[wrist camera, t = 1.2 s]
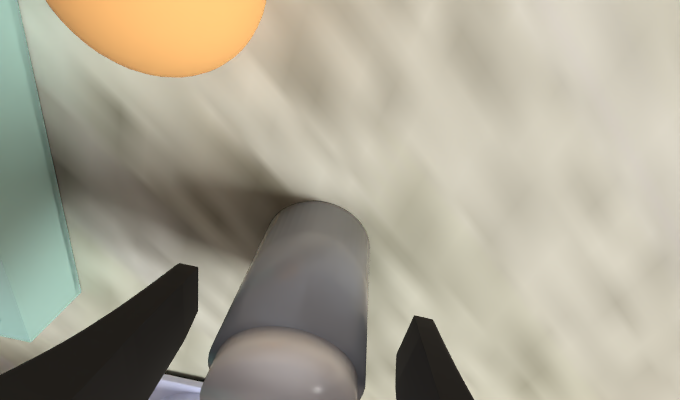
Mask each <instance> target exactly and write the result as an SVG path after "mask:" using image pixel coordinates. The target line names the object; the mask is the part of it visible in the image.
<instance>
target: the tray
mask: <svg viewBox="0 0 680 400" xmlns="http://www.w3.org/2000/svg"><path fill="white" fill-rule="evenodd" d="M80 293H81V289H80V284H79V279H78V275H77V270H76V266H75V261H74V257H73V252H72V247H71V243H70V238H69V234H68V229H67V225H66V220H65V216H64V211H63V206H62V202H61V197H60V193H59V188H58V184H57V179H56V174H55V170H54V165H53V161H52V156H51V152H50V147H49V143H48V138H47V133H46V129H45V124H44V120H43V115H42V111H41V106H40V101H39V97H38V92H37V88H36V83H35V79H34V74H33V70H32V65H31V60H30V56H29V51H28V47H27V42H26V38H25V33H24V28H23V24H22V19H21V15H20V10H19V6H18V1H17V0H0V336H3V337H8V338H12V339H17V340H22V341H26V342H32V341H33V340H34V339H35V338H36V337H37V336H38V335H39V334H40V333H41V332H42V331H43V330H44V329H45V328H46V327H47V326H48V325H49V324H50V323H51V322H52V321H53V320H54V319H55V318H56V317H57V316H58V315H59V314H60V313H61V312H62V311H63V310H64V309H65V308H66V307H67V306H68V305H69V304H70V303H71V302H72V301H73V300H74V299H75V298H76V297H77V296H78V295H79V294H80Z"/></svg>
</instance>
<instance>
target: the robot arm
mask: <svg viewBox="0 0 680 400" xmlns="http://www.w3.org/2000/svg"><path fill="white" fill-rule="evenodd" d="M197 312H198V267H195V266H190V265H186V264H181V263H179V264H177V265H176V266H174V267H173V268H172V269H170V270H169V271H168V272H166V273H165V274H164V275H162V276H161V277H160V278H158V279H157V280H156V281H154V282H153V283H152V284H150V285H149V286H148V287H146V288H145V289H144V290H142V291H141V292H139V293H138V294H137V295H135V296H134V297H132V298H131V299H130V300H128V301H127V302H125V303H124V304H122V305H121V306H120V307H118V308H117V309H115V310H114V311H112V312H111V313H109V314H108V315H106V316H104V317H103V318H101V319H100V320H98V321H97V322H95V323H94V324H92V325H90V326H89V327H87V328H86V329H84V330H83V331H81V332H79V333H78V334H76V335H74V336H73V337H71V338H69V339H67V340H66V341H64V342H62V343H60V344H59V345H57V346H55V347H53V348H52V349H50V350H48V351H46V352H44V353H42V354H41V355H39V356H37V357H35V358H33V359H31V360H29V361H27V362H25V363H23V364H21V365H19V366H17V367H16V368H14V369H12V370H10V371H8V372H6V373H4V374H1V375H0V400H200V390H201V387H202V385H203V383H204V382H200V381H195V380H190V379H186V378H181V377H176V376H172V375H167V374H164V373H165V372H166V370H167V368H168V367H169V365H170V363H171V362H172V360H173V358H174V357H175V355H176V353H177V352H178V350H179V348H180V347H181V345H182V343H183V342H184V340H185V338H186V336H187V334H188V332H189V329H190V327H191V325H192V323H193V321H194V318H195V316H196V314H197ZM395 387H396V400H474V399H473V397H472V395H471V393H470V392H469V390H468V388H467V386H466V384H465V382H464V381H463V379H462V377H461V375H460V373H459V371H458V370H457V368H456V366H455V364H454V362H453V360H452V358H451V356H450V354H449V352H448V350H447V348H446V346H445V344H444V342H443V340H442V338H441V335H440V333H439V331H438V329H437V327H436V325H435V323H434V321H433V320H432V319H428V318H424V317H419V316H415V315H414V317H413V319H412V322H411V324H410V326H409V328H408V330H407V333H406V335H405V337H404V339H403V341H402V344H401V346H400V348H399V350H398V352H397V355H396V386H395Z"/></svg>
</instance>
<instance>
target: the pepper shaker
mask: <svg viewBox="0 0 680 400" xmlns="http://www.w3.org/2000/svg"><path fill="white" fill-rule="evenodd" d="M369 255H370V244H369V239H368V235H367V233H366V230H365V229H364V227H363V226H362V224H361V223H360V222H359V220H358V219H357V218H356V217H354V216H353V215H352V214H351V213H349V212H348V211H346V210H345V209H343V208H341V207H339V206H336V205H334V204H330V203H326V202H320V201H306V202H300V203H296V204H293V205H291V206H289V207H286V208H285V209H283V210H282V211H280V212H279V213H278V214H277V215H276V216H275V217H274V219H273V220H272V222H271V223H270V225H269V227H268V229H267V231H266V233H265V235H264V238H263V240H262V242H261V244H260V246H259V248H258V250H257V252H256V254H255V256H254V259H253V261H252V263H251V265H250V267H249V269H248V271H247V273H246V275H245V277H244V280H243V282H242V284H241V286H240V288H239V290H238V292H237V294H236V296H235V298H234V301H233V303H232V305H231V307H230V309H229V311H228V313H227V315H226V317H225V319H224V322H223V324H222V326H221V328H220V330H219V332H218V334H217V336H216V338H215V340H214V343H213V345H212V347H211V349H210V352H209V357H208V366H209V372H208V374H207V376H206V378H205V380H204V383H203V385H202V387H201V390H200V400H360V398H361V396H362V395H363V392H364V389H365V378H366V347H367V317H368V286H369Z"/></svg>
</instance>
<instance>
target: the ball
mask: <svg viewBox="0 0 680 400" xmlns="http://www.w3.org/2000/svg"><path fill="white" fill-rule="evenodd" d="M46 2H47V3H48V4H49V6H50V7H51V9H52V10H53V11H54V12H55V14H56V15H57V16H58V17H59V19H60V20H61V21H62V22H63V23H64V24H65V25H66V26H67V27H68V28H69V29H70V30H71V31H72V32H73V33H74V34H75V35H76V36H78V37H79V38H80V39H81V40H82V41H83V42H85V43H86V44H87V45H88V46H90V47H91V48H93V49H94V50H95V51H97V52H98V53H100V54H101V55H103V56H105V57H107V58H109V59H110V60H112V61H114V62H116V63H118V64H120V65H122V66H124V67H127V68H129V69H132V70H135V71H139V72H142V73H145V74H149V75H154V76H160V77H188V76H195V75H199V74H202V73H206V72H209V71H212V70H214V69H216V68H218V67H220V66H222V65H223V64H225V63H226V62H228V61H229V60H231V59H232V58H234V57H235V56H236V55H237V54H238V53H239V52H240V51H242V49H243V48H244V47H245V46H246V44H247V43H248V42H249V41H250V39H251V37H252V36H253V34H254V32H255V31H256V29H257V27H258V25H259V22H260V20H261V18H262V15H263V11H264V8H265V4H266V0H46Z"/></svg>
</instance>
